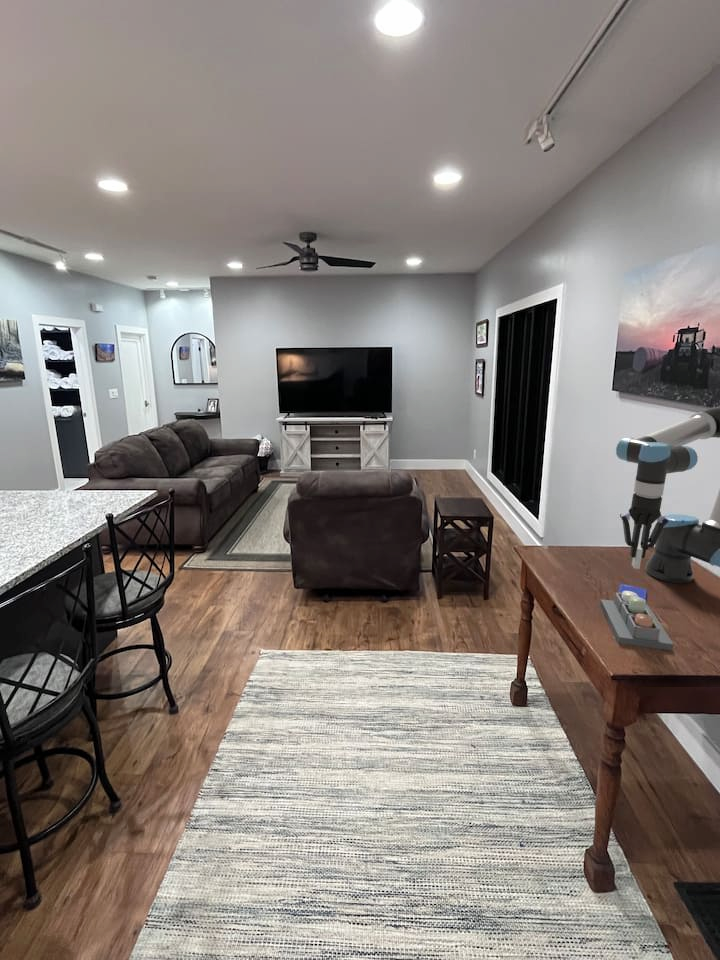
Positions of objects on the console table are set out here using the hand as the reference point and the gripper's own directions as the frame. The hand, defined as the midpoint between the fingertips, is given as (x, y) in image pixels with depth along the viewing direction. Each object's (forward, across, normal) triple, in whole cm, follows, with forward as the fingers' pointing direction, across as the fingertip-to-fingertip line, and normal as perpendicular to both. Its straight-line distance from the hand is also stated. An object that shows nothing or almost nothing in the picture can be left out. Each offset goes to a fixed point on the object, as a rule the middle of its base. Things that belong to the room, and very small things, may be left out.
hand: (635, 566), depth 149 cm
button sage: (+12, 0, +7) cm, 14 cm away
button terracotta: (+13, 0, +14) cm, 20 cm away
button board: (+16, 0, +7) cm, 18 cm away
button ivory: (+14, 0, 0) cm, 14 cm away
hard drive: (+17, -5, -13) cm, 22 cm away
